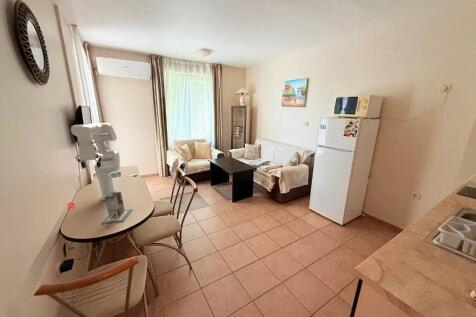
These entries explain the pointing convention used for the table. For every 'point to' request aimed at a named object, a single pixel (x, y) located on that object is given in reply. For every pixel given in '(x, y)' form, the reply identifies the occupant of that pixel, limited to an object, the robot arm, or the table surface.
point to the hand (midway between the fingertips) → (91, 167)
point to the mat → (121, 219)
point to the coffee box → (115, 205)
